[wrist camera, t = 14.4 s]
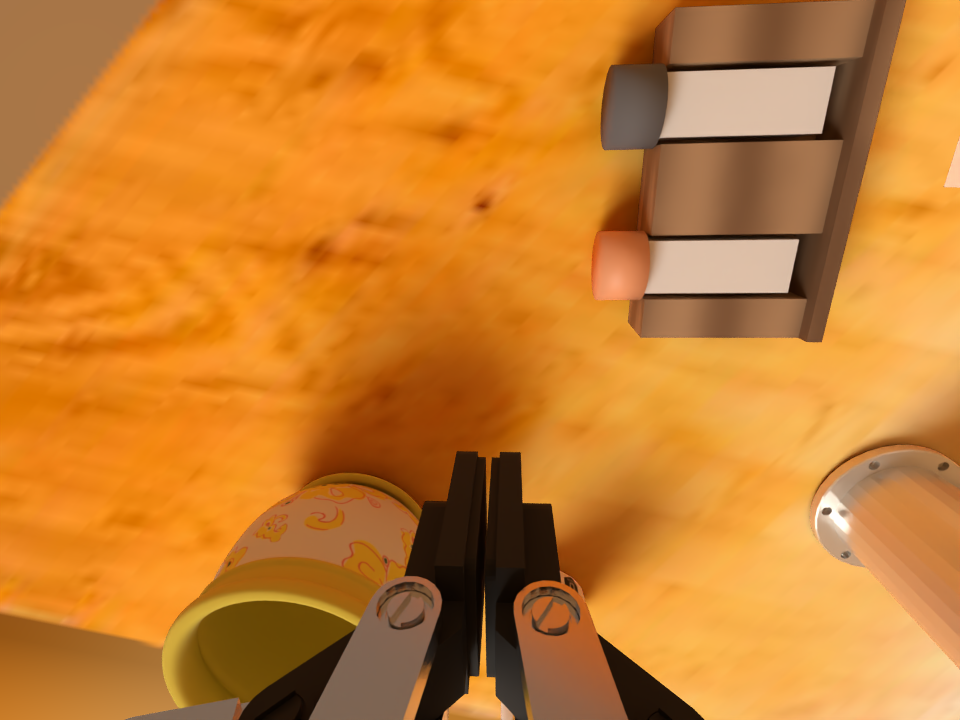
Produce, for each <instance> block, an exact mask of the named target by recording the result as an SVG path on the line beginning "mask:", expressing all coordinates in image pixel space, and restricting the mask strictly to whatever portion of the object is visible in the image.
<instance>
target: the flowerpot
mask: <svg viewBox="0 0 960 720" xmlns="http://www.w3.org/2000/svg"><path fill="white" fill-rule="evenodd" d="M421 512H422V509H421V508H420V506H419V505H418V504H417V503H416V502H415V501H414V500H413V499H412V498H411V497H410V496H409V495H408V494H407V493H406V492H404V491H403V490H402V489H400V488H399V487H397V486H395V485H394V484H392V483H390V482H388V481H385V480H383V479H380V478H378V477H374V476H371V475H366V474H360V473H337V474H332V475H327V476H324V477H321V478H318V479H316V480H314V481H312V482H311V483H309V484H307V485H306V486H305V487H303V488H302V489H301V490H300V491H299V492H297V493H295V494H293V495H290V496H288V497H286V498H285V499H283V500H281V501H280V502H278V503H276V504H275V505H273V506H272V507H271V508H269V509H268V510H267V511H265V512H264V513H263V514H262V515H261V516H260V517H258V518H257V519H256V520H255V521H254V522H253V523H252V524H251V526H250V527H249V528H248V529H247V530H246V531H245V532H244V533H243V535H242V536H241V537H240V539H239V540H238V541H237V542H236V544H235V545H234V546H233V548H232V549H231V551H230V552H229V554H228V555H227V557H226V559H225V560H224V562H223V563H222V565H221V567H220V569H219V570H218V572H217V574H216V576H215V578H214V580H213V581H212V582H211V583H210V584H209V585H208V586H207V587H206V588H205V589H204V591H203V592H202V593H201V595H200V596H199V598H197V599H196V600H194V601H193V602H192V603H191V604H189V605H188V606H187V607H186V608H185V609H184V610H183V611H182V612H181V613H180V615H179V616H178V617H177V618H176V620H175V621H174V623H173V624H172V626H171V628H170V630H169V632H168V634H167V636H166V639H165V642H164V646H163V652H162V669H163V675H164V679H165V682H166V685H167V687H168V690H169V692H170V694H171V696H172V698H173V700H174V702H175V703H176V705H177V706H178V707H179V708H185V707H190V706H195V705H201V704H206V703H211V702H217V701H222V700H228V699H233V698H238V697H239V700H240V704H242V703H247V702H250V701H251V700H252V699H253V698H254V697H255V696H256V695H257V694H259V693H260V692H261V691H262V690H264V689H265V688H266V687H268V686H269V685H271V684H272V683H274V682H275V681H277V680H278V679H280V678H281V677H283V676H284V675H286V674H287V673H289V672H290V671H292V670H294V669H295V668H297V667H298V666H300V665H301V664H303V663H304V662H306V661H307V660H309V659H310V658H312V657H313V656H315V655H316V654H318V653H319V652H321V651H323V650H324V649H326V648H327V647H329V646H330V645H332V644H333V643H335V642H336V641H338V640H339V639H341V638H342V637H344V636H345V635H347V634H348V633H350V632H352V631H353V630H355V629H356V627H357V625H358V623H359V621H360V619H361V618H362V616H363V614H364V612H365V610H366V608H367V606H368V604H369V602H370V600H371V598H372V597H373V596H374V594H375V593H376V591H377V590H378V589H379V588H381V587H382V586H383V585H384V584H386V583H387V582H390V581H392V580H394V579H396V578H400V577H404V575H405V571H406V568H407V564H408V560H409V557H410V553H411V549H412V545H413V542H414V538H415V534H416V531H417V527H418V523H419V519H420V516H421Z"/></svg>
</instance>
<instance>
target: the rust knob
mask: <svg viewBox="0 0 960 720" xmlns="http://www.w3.org/2000/svg"><path fill="white" fill-rule="evenodd" d="M798 243H799V239H794V238H789V237H784V236H709V237H647V234H646V233H645V232H644V231H599V232H597V234H596V237H595V241H594V246H593V254H592V290H593V295H594V298H595V299H596V300H640V299H641V298H642V297H643V295H644V293H788V290H789V285H790V280H791V276H792V271H793V266H794V261H795V257H796V252H797V247H798Z"/></svg>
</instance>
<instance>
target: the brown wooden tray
mask: <svg viewBox="0 0 960 720" xmlns="http://www.w3.org/2000/svg"><path fill="white" fill-rule="evenodd" d="M905 3H906V0H844V1H820V2H796V3H772V4H748V5H725V6H701V7H677V8H675V9H674V10H673V11H672V12H671V13H670V14H669V15H668V16H667V17H666V18H665V19H664V20H663V21H662V22H661V23H660V24H659V25H658V27H657V28H656V31H655V41H654V52H653V63H652V64H658V63H663V64H665V66H666V68H667V72H684V71H713V70H743V69H772V68H802V67H832V66H836V69H835V73H834V78H833V83H832V88H831V92H830V97H829V102H828V106H827V111H826V116H825V120H824V125H823V130H822V134H815V135H808V136H802V137H773V138H733V139H693V140H658V142H657V144H656V146H655V147H654V148H653V149H644V158H643V168H642V179H641V190H640V200H639V211H638V221H637V231H644V232H645V233H646V234H647V237H709V236H784V237H789V238H794V239H799V243H798V247H797V252H796V257H795V261H794V266H793V271H792V276H791V280H790V285H789V290H788V293H644V295H643V297H642V298H641V299H640V300H630V306H629V317H628V323H629V324H630V325H631V326H632V328H633V329H634V330H635V331H636V332H637V334H638V335H639V336H640V337H641V338H800V339H802V340H804V341H806V342H822V339H823V335H824V331H825V327H826V322H827V318H828V314H829V310H830V306H831V302H832V298H833V294H834V290H835V286H836V282H837V278H838V274H839V270H840V266H841V262H842V258H843V254H844V250H845V246H846V242H847V238H848V234H849V230H850V226H851V221H852V217H853V213H854V209H855V205H856V201H857V197H858V193H859V189H860V185H861V181H862V177H863V173H864V169H865V165H866V161H867V157H868V153H869V149H870V145H871V141H872V137H873V133H874V129H875V124H876V120H877V116H878V112H879V108H880V104H881V100H882V96H883V92H884V88H885V84H886V80H887V76H888V72H889V68H890V64H891V60H892V56H893V52H894V48H895V44H896V40H897V36H898V32H899V28H900V23H901V19H902V15H903V11H904V7H905Z"/></svg>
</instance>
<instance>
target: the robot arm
mask: <svg viewBox="0 0 960 720" xmlns="http://www.w3.org/2000/svg"><path fill="white" fill-rule="evenodd" d="M810 523H811V529H812V531H813V533H814V535H815V537H816V539H817V540H818V541H819V542H820V544H821V545H822V546H823V548H824V549H825V550H827V551H828V552H829V553H830V554H831V555H832V556H833V557H835V558H836V559H838V560H840V561H842V562H845V563H848V564H850V565H853V566H859V567H864V568H867V569H868V570H869V571H870V572H871V573H872V574H873V576H874V577H875V578H876V579H877V580H878V581H879V582H880V583H881V584H882V585H883V586H884V588H885V589H886V590H887V591H888V592H889V593H890V594H891V595H892V596H893V597H894V598H895V599H896V601H897V602H898V603H899V604H900V605H901V606H902V607H903V608H904V609H905V610H906V611H907V613H908V614H909V615H910V616H911V617H912V618H913V619H914V620H915V621H916V622H917V623H918V624H919V626H920V627H921V628H922V629H923V630H924V631H925V632H926V633H927V634H928V635H929V636H930V638H931V639H932V640H933V641H934V642H935V643H936V644H937V645H938V646H939V647H940V648H941V649H942V651H943V652H944V653H945V654H946V655H947V656H948V657H949V658H950V659H951V660H952V661H953V663H954V664H955V665H956V666H957V667H958V668H959V669H960V466H958V465H957V464H956V463H955V462H954V461H953V460H951V459H949V458H948V457H946V456H944V455H943V454H941V453H940V452H937V451H935V450H932V449H929V448H927V447H921V446H916V445H893V446H886V447H881V448H877V449H874V450H870V451H867V452H865V453H863V454H861V455H858V456H856V457H854V458H852V459H850V460H849V461H847V462H846V463H844V464H842V465H841V466H840V467H838V468H837V469H836V470H835V471H834V472H833V473H831V474H830V475H829V476H828V477H827V479H826V480H825V481H824V482H823V483H822V484H821V486H820V488H819V489H818V491H817V493H816V494H815V496H814V499H813V502H812V505H811V509H810ZM484 590H485V615H486V666H487V677H496V696H497V698H498V699H499V700H500V701H501V702H502V703H503V704H504V705H505V706H506V707H507V708H508V710H509V711H510V712H511V713H512V714H513V720H704V719H703V718H702V717H701V716H700V715H699V714H698V713H697V712H696V711H695V710H694V709H693V708H692V707H690V706H689V705H688V704H687V703H685V702H684V701H683V700H682V699H680V698H679V697H678V696H676V695H675V694H674V693H673V692H671V691H670V690H669V689H668V688H666V687H665V686H664V685H662V684H661V683H660V682H659V681H657V680H656V679H655V678H654V677H652V676H651V675H650V674H648V673H647V672H646V671H645V670H643V669H642V668H641V667H640V666H638V665H637V664H636V663H634V662H633V661H632V660H631V659H629V658H628V657H627V656H626V655H624V654H623V653H622V652H620V651H619V650H618V649H617V648H615V647H614V646H613V645H612V644H610V643H609V642H608V641H606V640H605V639H604V638H603V637H601V636H600V635H599V634H598V633H597V632H596V629H595V626H594V624H593V621H592V618H591V615H590V613H589V610H588V607H587V605H586V603H585V601H584V600H583V598H582V597H581V596H580V595H579V594H578V593H577V592H576V591H575V590H574V589H572V588H571V587H569V586H567V585H565V584H563V583H561V576H560V568H559V561H558V553H557V545H556V537H555V529H554V521H553V513H552V506H551V504H535V503H522V477H521V453H520V452H500V458H493V457H492V464H491V479H490V494H489V509H488V523H487V503H486V458H485V457H478V452H463V451H457V453H456V458H455V463H454V469H453V474H452V479H451V484H450V489H449V494H448V499H447V501H425V502H424V505H423V508H422V512H421V516H420V519H419V523H418V527H417V531H416V534H415V538H414V542H413V545H412V549H411V553H410V557H409V560H408V564H407V568H406V571H405V575H404V577H400V578H396V579H394V580H392V581H390V582H387V583H386V584H384V585H383V586H382V587H381V588H379V589H378V590H377V591H376V593H375V594H374V596H373V597H372V598H371V600H370V602H369V604H368V606H367V608H366V610H365V612H364V614H363V616H362V618H361V619H360V621H359V623H358V625H357V627H356V629H355V630H353V631H352V632H350V633H348V634H347V635H345V636H344V637H342V638H341V639H339V640H338V641H336V642H335V643H333V644H332V645H330V646H329V647H327V648H326V649H324V650H323V651H321V652H319V653H318V654H316V655H315V656H313V657H312V658H310V659H309V660H307V661H306V662H304V663H303V664H301V665H300V666H298V667H297V668H295V669H294V670H292V671H290V672H289V673H287V674H286V675H284V676H283V677H281V678H280V679H278V680H277V681H275V682H274V683H272V684H271V685H269V686H268V687H266V688H265V689H264V690H262V691H261V692H260V693H259V694H257V695H256V696H255V697H254V698H253V699H252V700H251V701H250V702H247V703H242V704H240V700H239V697H238V698H233V699H228V700H222V701H217V702H211V703H206V704H201V705H195V706H190V707H185V708H179V709H174V710H168V711H163V712H158V713H153V714H147V715H142V716H136V717H132V718H129V719H126V720H448V715H449V707H450V706H451V705H453V704H454V703H455V702H456V701H457V700H458V699H459V698H461V697H462V696H463V695H464V694H468V689H469V677H470V676H479V669H480V653H481V637H482V621H483V606H484Z"/></svg>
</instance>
